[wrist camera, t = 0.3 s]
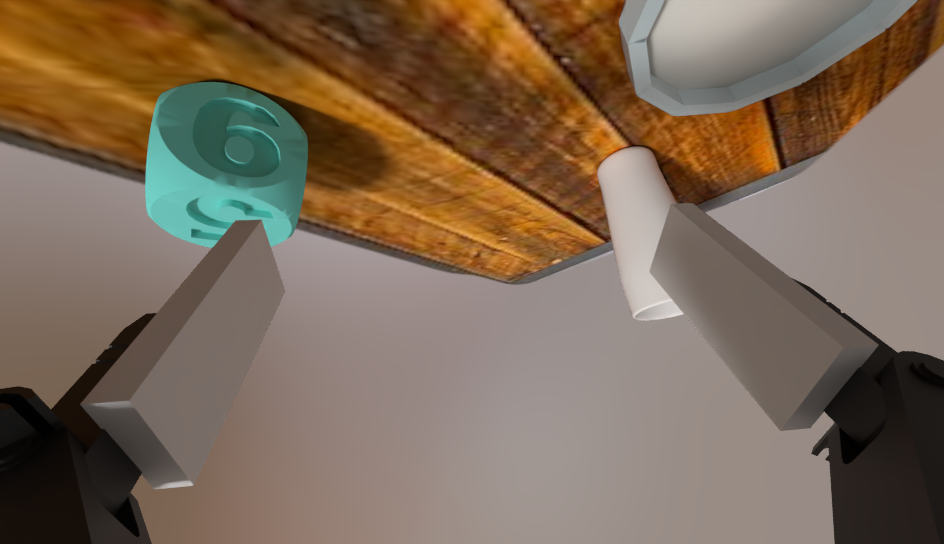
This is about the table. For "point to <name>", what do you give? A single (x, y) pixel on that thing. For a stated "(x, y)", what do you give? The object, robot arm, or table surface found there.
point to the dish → (740, 46)
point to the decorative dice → (224, 163)
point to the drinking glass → (637, 226)
